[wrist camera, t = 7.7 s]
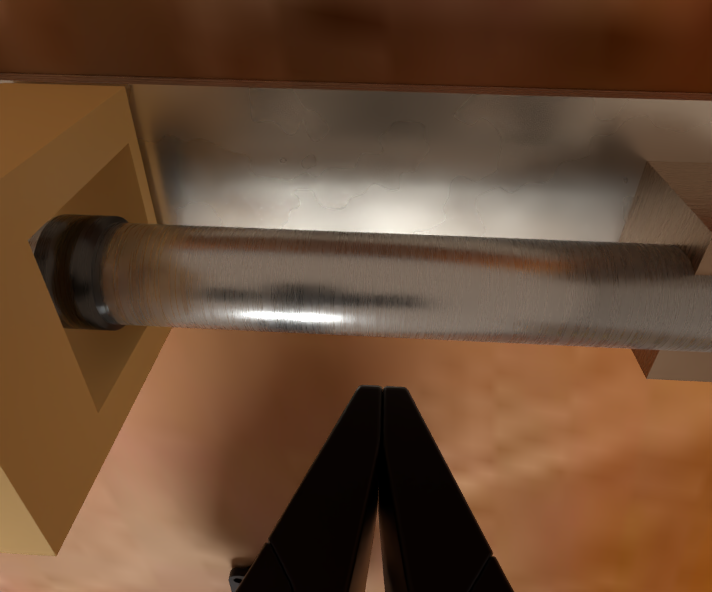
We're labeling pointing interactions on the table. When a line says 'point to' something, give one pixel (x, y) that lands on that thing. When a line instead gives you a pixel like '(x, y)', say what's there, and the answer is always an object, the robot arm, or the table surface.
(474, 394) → the table surface
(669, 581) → the table surface
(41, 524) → the tan wooden block
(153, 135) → the grey piece
